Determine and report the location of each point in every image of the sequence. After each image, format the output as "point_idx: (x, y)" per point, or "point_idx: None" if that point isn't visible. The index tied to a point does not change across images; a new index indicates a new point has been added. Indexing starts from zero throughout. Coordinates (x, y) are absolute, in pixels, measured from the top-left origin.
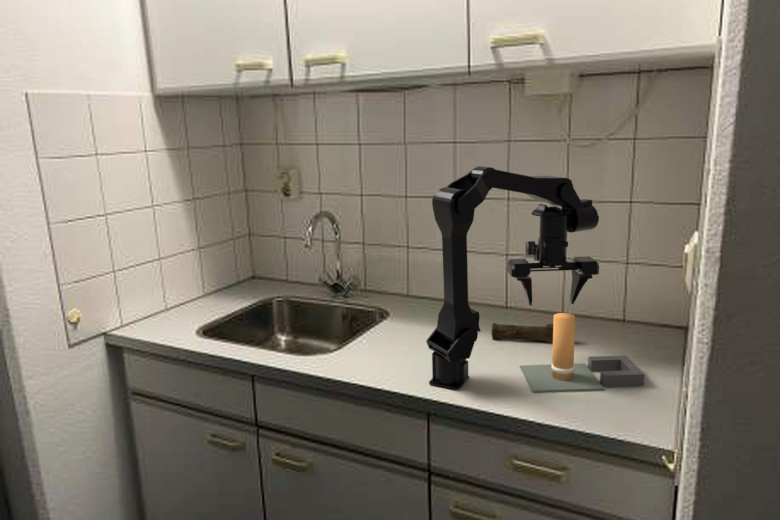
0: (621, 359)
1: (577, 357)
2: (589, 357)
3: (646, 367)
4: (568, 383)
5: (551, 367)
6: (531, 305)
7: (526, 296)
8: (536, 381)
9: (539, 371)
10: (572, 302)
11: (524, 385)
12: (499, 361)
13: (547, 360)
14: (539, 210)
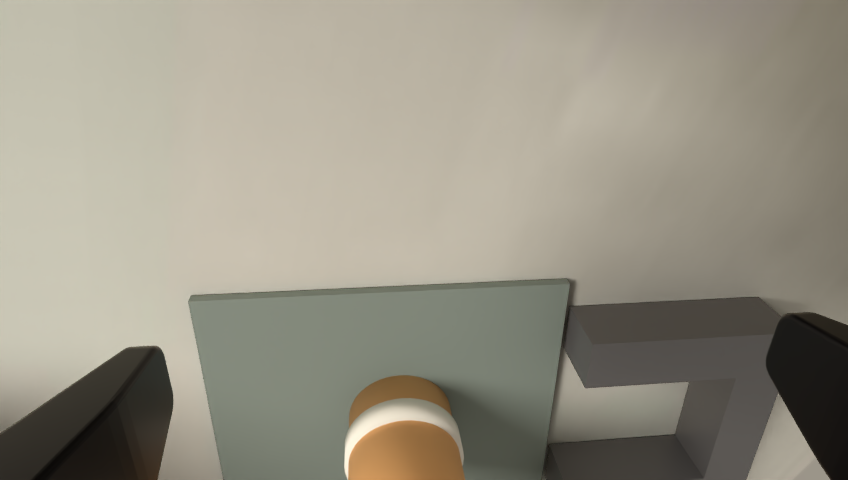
0: (741, 378)
1: (574, 173)
2: (592, 353)
3: (843, 307)
4: None
5: (345, 444)
6: (172, 398)
7: (15, 434)
8: (261, 462)
9: (294, 369)
10: (785, 392)
11: (202, 470)
12: (55, 209)
13: (377, 207)
14: None
